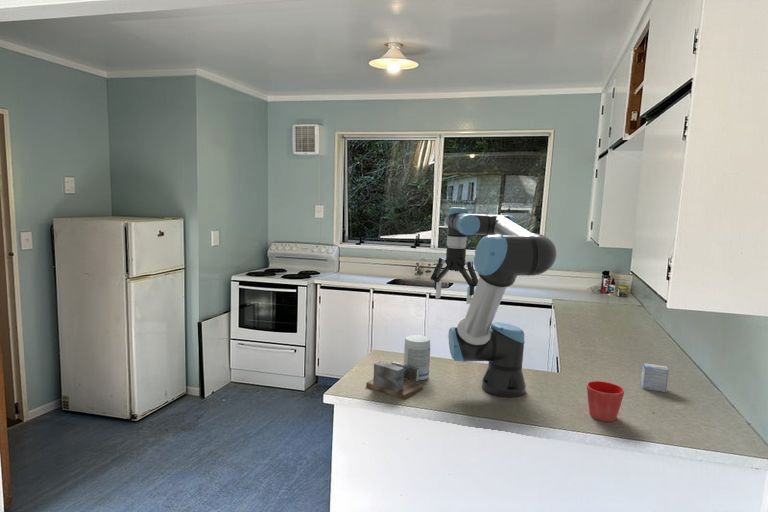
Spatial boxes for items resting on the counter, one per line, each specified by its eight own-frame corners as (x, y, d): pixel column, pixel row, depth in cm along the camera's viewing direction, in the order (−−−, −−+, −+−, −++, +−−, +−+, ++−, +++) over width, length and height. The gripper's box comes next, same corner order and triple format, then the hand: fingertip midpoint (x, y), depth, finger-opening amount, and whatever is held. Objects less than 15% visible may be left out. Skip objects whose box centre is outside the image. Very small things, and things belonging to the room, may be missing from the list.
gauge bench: (422, 388, 168) (423, 364, 167) (404, 399, 159) (405, 373, 158) (385, 377, 178) (386, 353, 177) (366, 386, 168) (367, 361, 167)
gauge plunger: (418, 380, 171) (419, 368, 170) (409, 385, 166) (410, 372, 165) (392, 372, 177) (392, 360, 177) (382, 377, 172) (383, 365, 172)
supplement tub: (433, 378, 179) (436, 340, 177) (413, 383, 173) (415, 343, 172) (418, 370, 187) (420, 333, 185) (398, 374, 181) (399, 336, 180)
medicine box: (663, 388, 179) (666, 366, 178) (666, 392, 174) (669, 369, 173) (640, 384, 181) (642, 362, 180) (642, 389, 177) (644, 366, 176)
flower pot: (577, 408, 157) (580, 380, 156) (609, 408, 158) (612, 380, 157) (594, 424, 147) (597, 393, 146) (628, 424, 148) (631, 393, 147)
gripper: (490, 249, 183) (486, 304, 186) (433, 243, 197) (430, 294, 200) (482, 251, 177) (478, 307, 180) (423, 244, 191) (421, 297, 194)
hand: (453, 300), depth 190 cm, fingers open, 13 cm apart
